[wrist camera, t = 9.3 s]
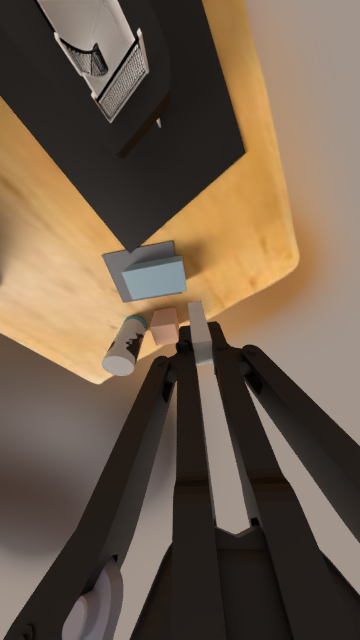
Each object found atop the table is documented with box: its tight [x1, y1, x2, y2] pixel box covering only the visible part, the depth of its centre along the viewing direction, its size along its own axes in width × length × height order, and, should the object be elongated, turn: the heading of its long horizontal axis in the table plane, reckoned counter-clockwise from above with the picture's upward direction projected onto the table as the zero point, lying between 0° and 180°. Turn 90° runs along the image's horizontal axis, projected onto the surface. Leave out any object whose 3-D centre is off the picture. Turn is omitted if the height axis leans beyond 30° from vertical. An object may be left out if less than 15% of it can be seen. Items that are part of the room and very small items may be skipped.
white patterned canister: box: [102, 316, 147, 376], centre depth 37 cm, size 7×7×15 cm
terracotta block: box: [150, 307, 179, 345], centre depth 38 cm, size 6×6×8 cm
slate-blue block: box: [122, 255, 187, 300], centre depth 31 cm, size 6×6×12 cm
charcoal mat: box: [102, 241, 182, 303], centre depth 34 cm, size 16×12×1 cm
